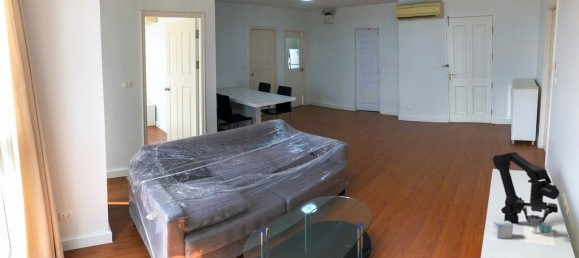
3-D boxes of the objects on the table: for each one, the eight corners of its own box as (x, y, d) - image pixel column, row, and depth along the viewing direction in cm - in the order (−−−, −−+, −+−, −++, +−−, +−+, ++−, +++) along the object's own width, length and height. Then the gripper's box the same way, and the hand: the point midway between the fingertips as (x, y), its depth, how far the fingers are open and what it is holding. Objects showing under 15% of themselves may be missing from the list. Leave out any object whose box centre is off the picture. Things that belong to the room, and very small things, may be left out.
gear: (527, 224, 221) (527, 219, 220) (527, 219, 227) (527, 213, 226) (542, 226, 217) (543, 221, 217) (542, 221, 223) (542, 215, 223)
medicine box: (507, 236, 224) (508, 220, 222) (512, 239, 220) (513, 224, 218) (492, 236, 224) (493, 221, 222) (497, 240, 219) (497, 225, 218)
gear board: (524, 243, 215) (525, 233, 214) (523, 227, 232) (524, 217, 231) (554, 248, 209) (555, 237, 208) (551, 231, 226) (552, 221, 225)
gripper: (516, 195, 216) (514, 224, 219) (559, 200, 207) (557, 230, 211) (516, 188, 226) (514, 216, 229) (557, 192, 217) (555, 221, 220)
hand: (534, 221), depth 222 cm, fingers closed on gear, 7 cm apart
